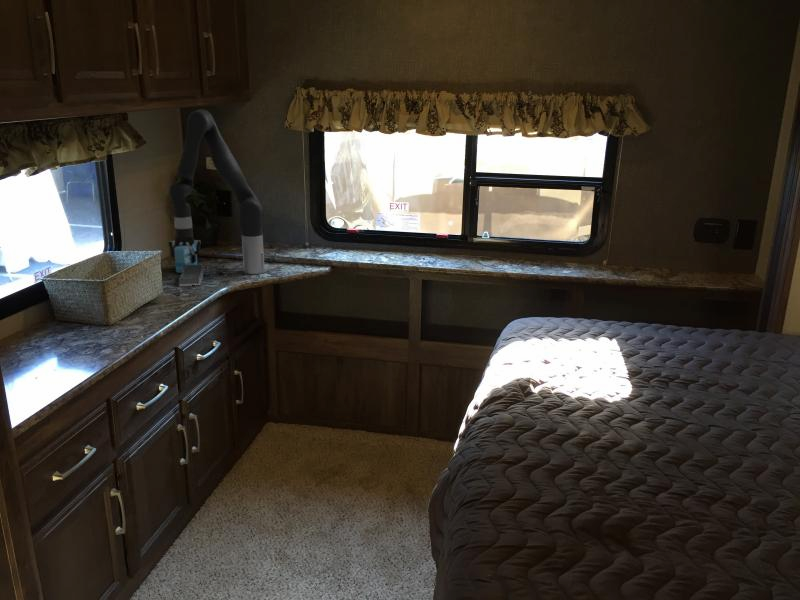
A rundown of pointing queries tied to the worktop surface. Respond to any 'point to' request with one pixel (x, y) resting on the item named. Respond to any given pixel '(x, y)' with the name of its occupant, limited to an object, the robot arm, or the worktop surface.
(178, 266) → the blue box
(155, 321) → the worktop surface
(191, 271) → the rail cradle
